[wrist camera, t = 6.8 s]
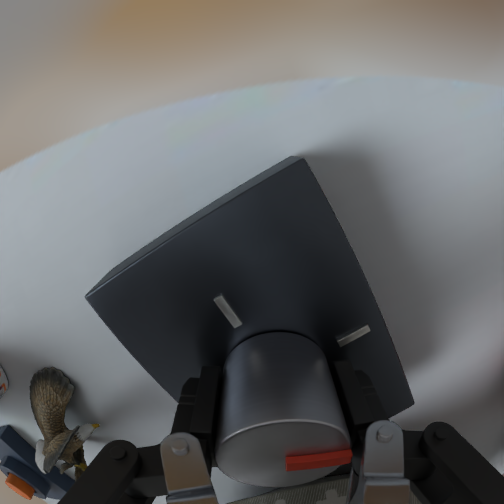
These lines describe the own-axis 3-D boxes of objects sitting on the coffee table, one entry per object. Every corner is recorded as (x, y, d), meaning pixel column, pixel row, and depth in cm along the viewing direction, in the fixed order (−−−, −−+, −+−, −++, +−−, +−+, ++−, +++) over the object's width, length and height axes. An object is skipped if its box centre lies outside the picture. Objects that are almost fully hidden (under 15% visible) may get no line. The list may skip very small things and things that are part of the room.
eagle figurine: (138, 468, 18) (106, 419, 14) (79, 515, 13) (20, 480, 9) (83, 412, 22) (47, 347, 17) (29, 450, 16) (-24, 392, 12)
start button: (6, 471, 19) (1, 481, 17) (15, 472, 18) (10, 482, 16) (28, 489, 20) (24, 498, 18) (40, 490, 19) (35, 501, 17)
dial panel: (111, 269, 14) (81, 298, 11) (292, 154, 12) (305, 157, 9) (256, 434, 18) (257, 471, 15) (397, 371, 16) (416, 406, 13)
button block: (-13, 430, 21) (-26, 450, 18) (8, 424, 20) (-8, 448, 16) (53, 487, 25) (45, 507, 21) (86, 488, 23) (77, 513, 20)
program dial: (228, 408, 13) (221, 495, 8) (217, 333, 12) (202, 430, 7) (322, 402, 13) (341, 486, 8) (331, 327, 11) (367, 419, 7)
